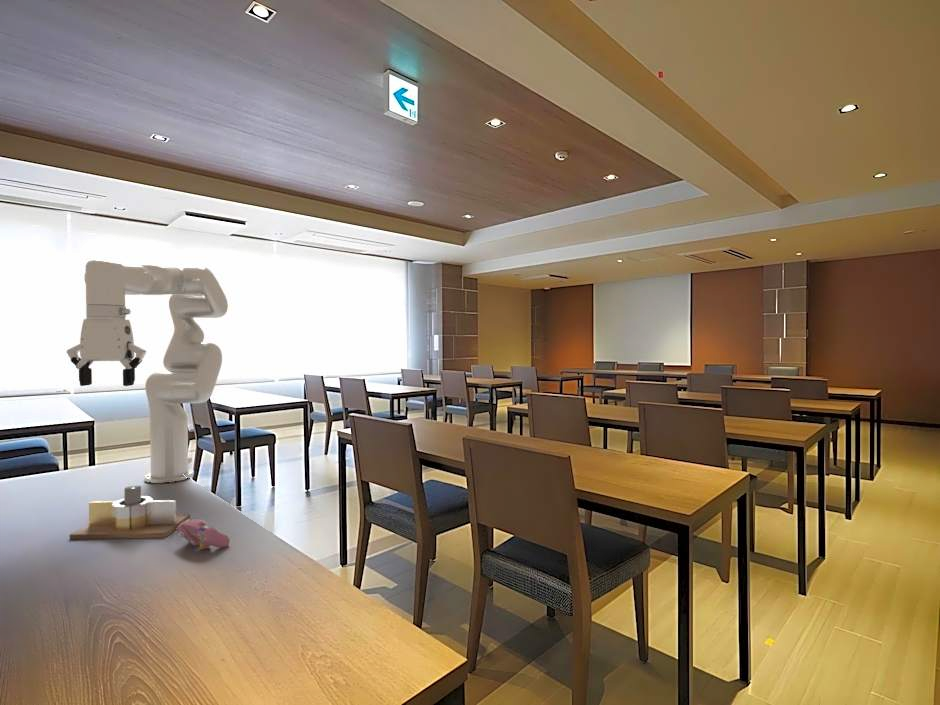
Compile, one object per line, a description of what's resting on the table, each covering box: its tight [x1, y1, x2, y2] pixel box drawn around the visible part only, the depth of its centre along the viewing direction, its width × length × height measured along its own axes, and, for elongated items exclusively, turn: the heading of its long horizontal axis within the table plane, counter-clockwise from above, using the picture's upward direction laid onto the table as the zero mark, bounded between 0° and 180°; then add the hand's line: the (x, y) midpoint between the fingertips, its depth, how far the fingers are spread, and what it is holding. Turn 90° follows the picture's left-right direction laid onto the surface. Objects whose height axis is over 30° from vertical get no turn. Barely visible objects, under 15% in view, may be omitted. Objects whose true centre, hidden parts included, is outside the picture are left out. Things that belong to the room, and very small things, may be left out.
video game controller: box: [176, 518, 230, 550], centre depth 102 cm, size 10×5×7 cm, turn 63°
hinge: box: [88, 495, 177, 530], centre depth 111 cm, size 7×18×5 cm, turn 94°
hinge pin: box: [123, 485, 142, 505], centre depth 111 cm, size 3×3×8 cm
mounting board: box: [69, 513, 191, 540], centre depth 111 cm, size 11×19×1 cm, turn 94°
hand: (107, 385), depth 120 cm, fingers open, 9 cm apart
